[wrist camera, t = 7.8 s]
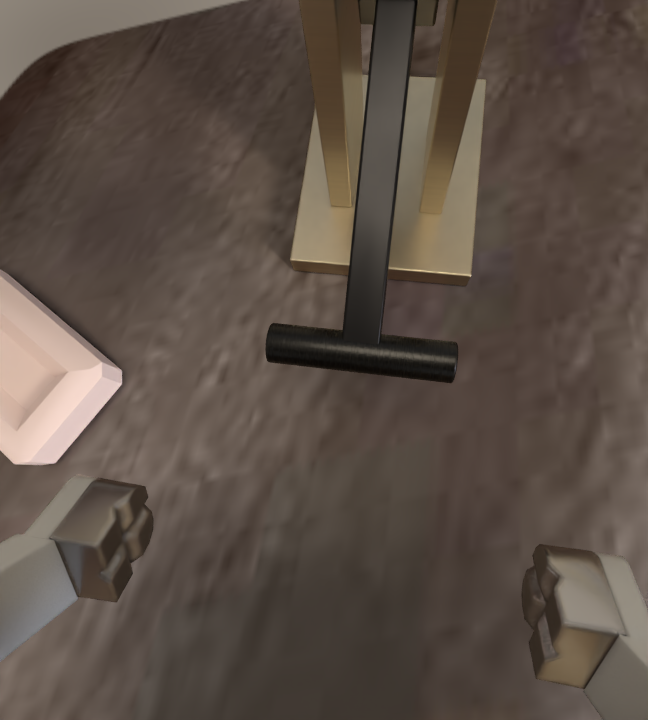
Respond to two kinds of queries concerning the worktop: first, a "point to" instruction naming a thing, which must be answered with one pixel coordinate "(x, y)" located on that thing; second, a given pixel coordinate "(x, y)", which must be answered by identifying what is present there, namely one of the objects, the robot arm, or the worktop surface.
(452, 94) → the cream lever mount
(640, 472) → the worktop surface
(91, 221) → the worktop surface
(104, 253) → the worktop surface
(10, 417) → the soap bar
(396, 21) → the lever
